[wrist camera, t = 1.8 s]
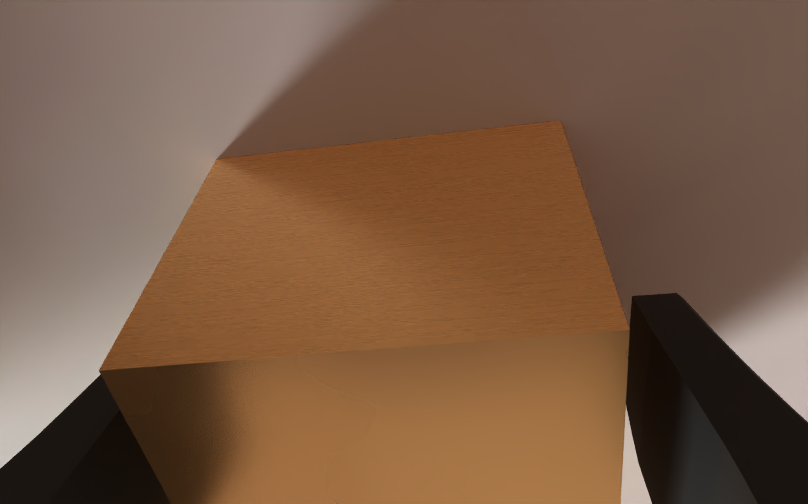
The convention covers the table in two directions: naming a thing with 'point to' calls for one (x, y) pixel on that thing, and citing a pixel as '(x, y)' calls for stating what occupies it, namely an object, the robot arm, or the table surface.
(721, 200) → the table surface
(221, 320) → the block
